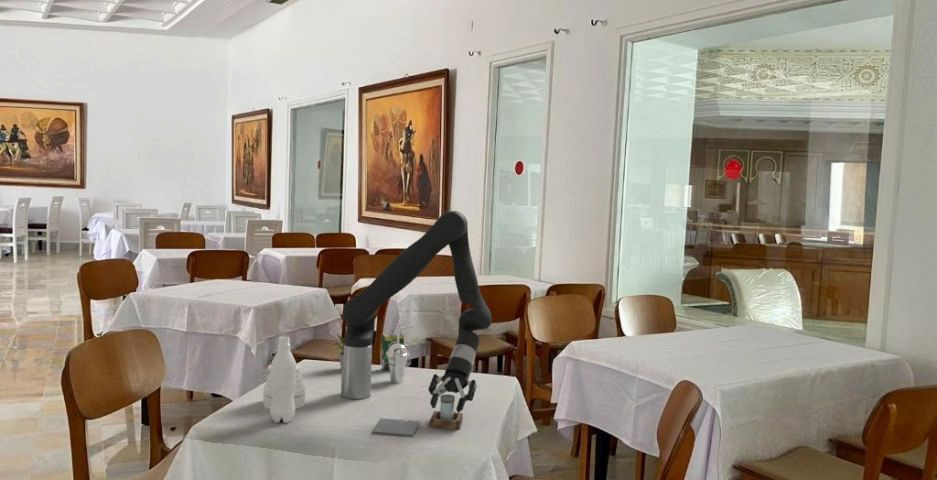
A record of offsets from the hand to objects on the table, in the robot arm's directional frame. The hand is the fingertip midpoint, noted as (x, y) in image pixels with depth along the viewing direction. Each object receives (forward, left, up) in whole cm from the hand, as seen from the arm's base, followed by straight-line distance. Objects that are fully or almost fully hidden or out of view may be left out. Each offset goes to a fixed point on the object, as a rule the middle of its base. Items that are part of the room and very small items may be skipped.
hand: (445, 408), depth 230 cm
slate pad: (-14, -6, -5) cm, 16 cm away
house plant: (-45, +55, -5) cm, 71 cm away
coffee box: (-28, +59, -5) cm, 66 cm away
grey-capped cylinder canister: (0, +1, -5) cm, 5 cm away
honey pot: (-53, +9, -5) cm, 54 cm away
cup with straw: (-23, +43, -5) cm, 49 cm away
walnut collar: (0, +1, -5) cm, 5 cm away
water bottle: (-48, -7, -5) cm, 48 cm away
